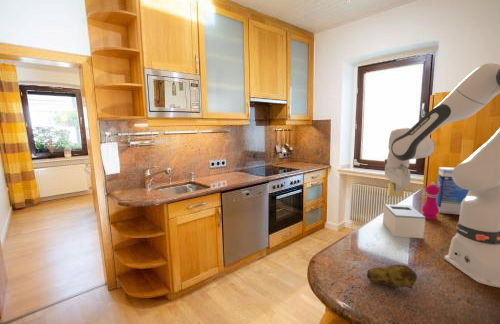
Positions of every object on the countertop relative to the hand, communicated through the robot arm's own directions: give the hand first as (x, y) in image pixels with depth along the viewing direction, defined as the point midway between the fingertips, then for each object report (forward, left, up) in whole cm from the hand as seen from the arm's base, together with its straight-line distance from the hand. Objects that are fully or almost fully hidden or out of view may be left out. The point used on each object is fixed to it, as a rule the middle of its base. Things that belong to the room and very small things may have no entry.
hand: (395, 191), depth 118 cm
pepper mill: (+20, -25, -19) cm, 38 cm away
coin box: (0, -4, -19) cm, 20 cm away
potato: (-47, +16, -19) cm, 53 cm away
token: (0, 0, -2) cm, 2 cm away
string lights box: (+32, -41, -19) cm, 56 cm away
